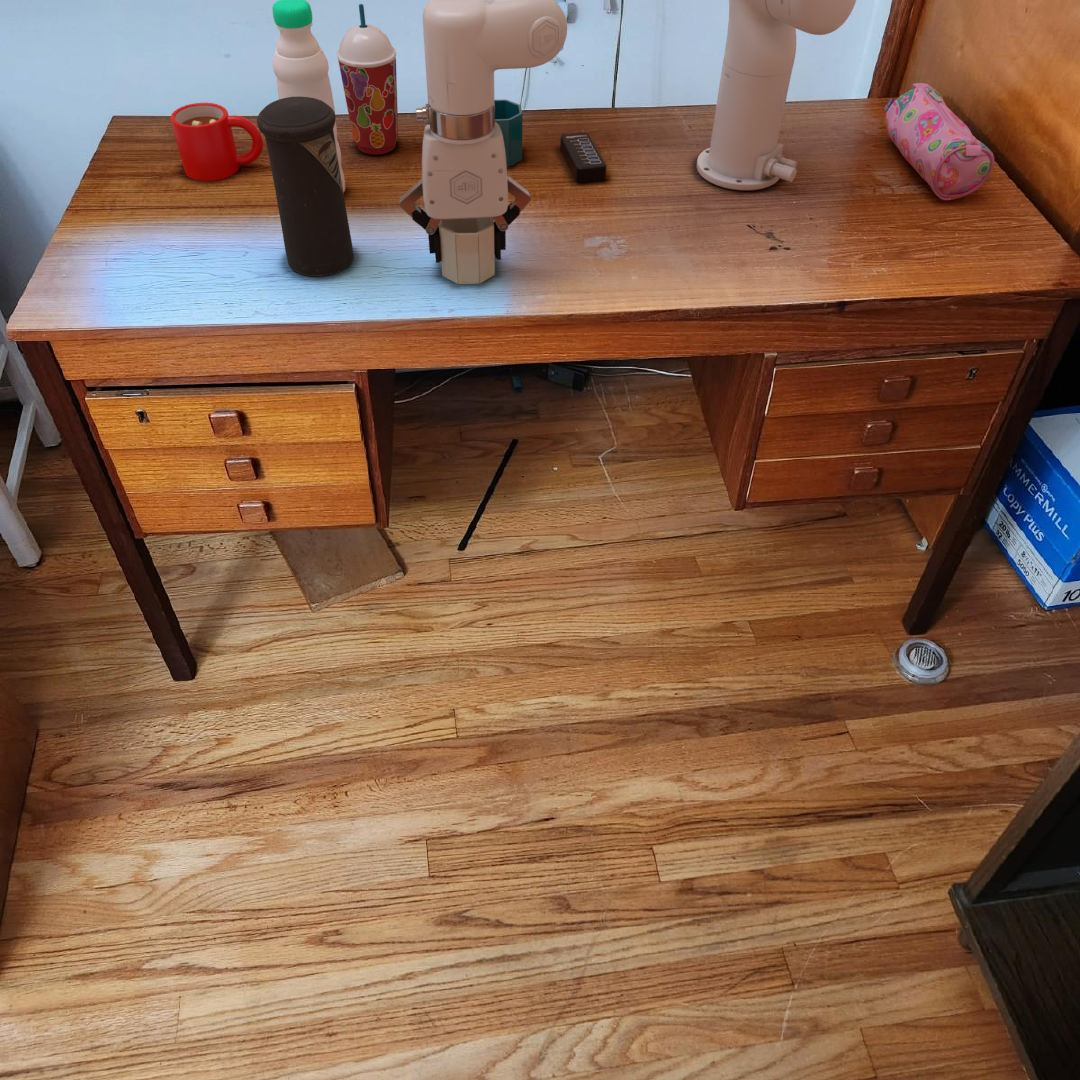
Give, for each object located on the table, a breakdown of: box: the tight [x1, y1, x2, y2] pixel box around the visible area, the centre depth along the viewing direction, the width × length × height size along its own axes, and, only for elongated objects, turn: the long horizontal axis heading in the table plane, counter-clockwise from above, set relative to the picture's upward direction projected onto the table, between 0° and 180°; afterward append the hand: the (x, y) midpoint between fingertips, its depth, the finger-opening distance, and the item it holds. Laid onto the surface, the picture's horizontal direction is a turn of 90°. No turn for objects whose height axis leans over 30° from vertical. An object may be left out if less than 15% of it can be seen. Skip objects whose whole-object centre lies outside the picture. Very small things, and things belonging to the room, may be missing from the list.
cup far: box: [494, 99, 523, 168], centre depth 142 cm, size 9×7×7 cm
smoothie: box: [336, 3, 399, 156], centre depth 139 cm, size 8×8×20 cm
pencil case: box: [883, 82, 995, 201], centre depth 141 cm, size 21×9×9 cm, turn 5°
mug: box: [170, 102, 264, 182], centre depth 138 cm, size 8×12×8 cm, turn 97°
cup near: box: [439, 217, 496, 285], centre depth 123 cm, size 9×7×7 cm
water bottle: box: [272, 0, 346, 193], centre depth 127 cm, size 7×7×25 cm
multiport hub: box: [559, 132, 607, 184], centre depth 143 cm, size 4×11×2 cm, turn 12°
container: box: [256, 97, 355, 277], centre depth 118 cm, size 9×9×20 cm
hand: (467, 254), depth 123 cm, fingers closed on cup near, 7 cm apart
